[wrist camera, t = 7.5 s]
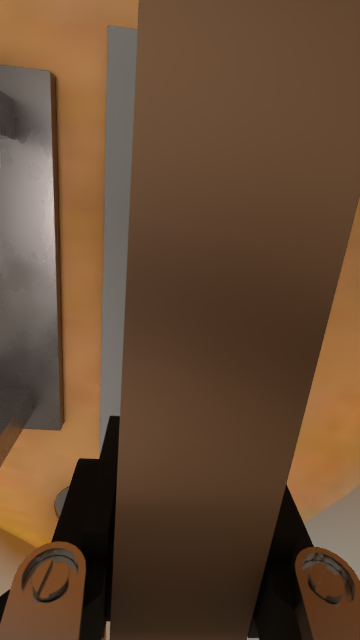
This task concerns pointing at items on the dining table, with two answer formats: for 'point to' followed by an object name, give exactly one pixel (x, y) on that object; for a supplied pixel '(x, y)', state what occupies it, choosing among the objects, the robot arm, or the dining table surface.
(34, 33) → the dining table surface
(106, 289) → the grey mat
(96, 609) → the robot arm
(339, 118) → the walnut rail
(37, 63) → the dining table surface
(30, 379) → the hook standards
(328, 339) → the dining table surface
